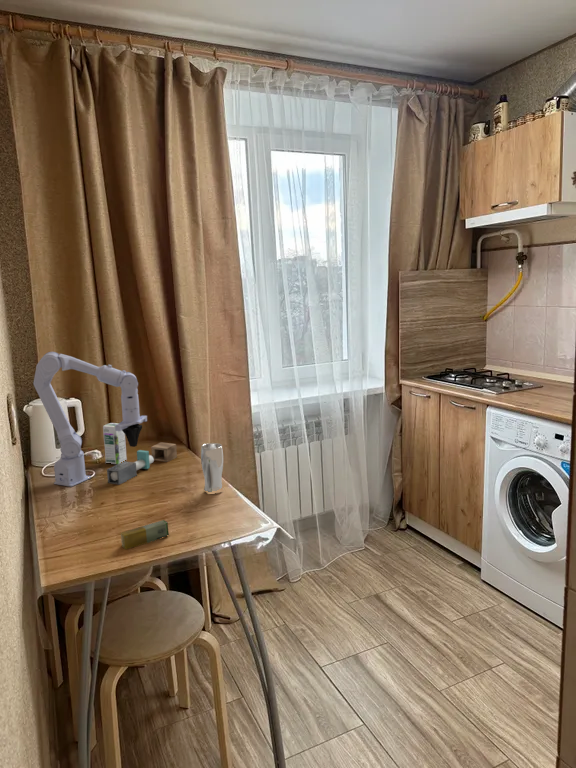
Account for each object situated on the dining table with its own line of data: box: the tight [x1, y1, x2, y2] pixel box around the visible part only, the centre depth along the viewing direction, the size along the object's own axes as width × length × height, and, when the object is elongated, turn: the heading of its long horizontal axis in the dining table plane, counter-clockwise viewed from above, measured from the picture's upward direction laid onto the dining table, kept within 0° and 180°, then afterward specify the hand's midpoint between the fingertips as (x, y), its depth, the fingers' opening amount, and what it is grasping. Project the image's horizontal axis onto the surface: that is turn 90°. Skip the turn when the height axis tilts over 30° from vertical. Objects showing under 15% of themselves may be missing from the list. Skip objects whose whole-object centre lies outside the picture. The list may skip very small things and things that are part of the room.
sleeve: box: [106, 460, 138, 486], centre depth 187 cm, size 9×5×5 cm, turn 157°
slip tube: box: [111, 449, 155, 481], centre depth 192 cm, size 20×4×6 cm, turn 157°
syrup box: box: [102, 422, 128, 465], centre depth 205 cm, size 6×6×14 cm
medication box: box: [120, 519, 170, 550], centre depth 142 cm, size 12×3×4 cm, turn 126°
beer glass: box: [200, 442, 224, 492], centre depth 174 cm, size 7×7×15 cm
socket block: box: [150, 441, 178, 463], centre depth 209 cm, size 6×7×5 cm
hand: (133, 446), depth 192 cm, fingers closed
